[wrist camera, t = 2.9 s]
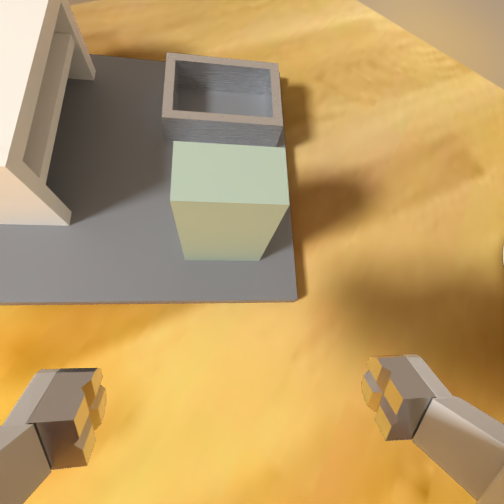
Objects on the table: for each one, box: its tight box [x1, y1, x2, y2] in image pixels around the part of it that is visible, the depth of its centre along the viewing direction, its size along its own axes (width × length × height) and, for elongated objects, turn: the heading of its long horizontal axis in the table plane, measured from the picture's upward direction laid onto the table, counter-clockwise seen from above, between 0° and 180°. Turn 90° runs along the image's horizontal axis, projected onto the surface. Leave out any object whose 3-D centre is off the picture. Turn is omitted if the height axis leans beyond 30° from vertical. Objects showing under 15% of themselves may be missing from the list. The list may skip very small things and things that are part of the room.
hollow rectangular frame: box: [162, 52, 283, 147], centre depth 28 cm, size 10×7×3 cm
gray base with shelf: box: [0, 0, 298, 305], centre depth 23 cm, size 24×24×9 cm
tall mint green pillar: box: [170, 141, 290, 261], centre depth 21 cm, size 6×4×10 cm
